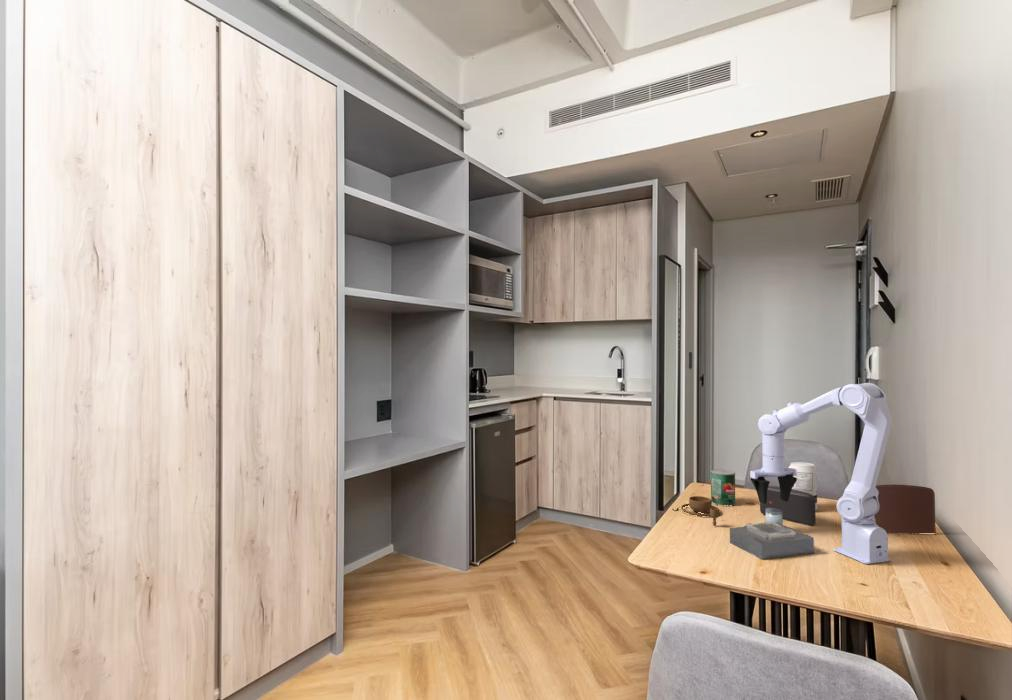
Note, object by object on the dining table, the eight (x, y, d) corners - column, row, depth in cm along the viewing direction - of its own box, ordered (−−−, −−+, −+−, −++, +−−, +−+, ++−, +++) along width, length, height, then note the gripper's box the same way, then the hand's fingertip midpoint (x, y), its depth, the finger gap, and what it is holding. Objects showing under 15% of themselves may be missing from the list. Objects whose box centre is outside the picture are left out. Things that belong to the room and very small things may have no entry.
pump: (786, 532, 148) (785, 511, 148) (773, 533, 147) (773, 512, 147) (774, 527, 153) (774, 507, 153) (762, 528, 152) (762, 508, 152)
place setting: (733, 513, 168) (732, 495, 168) (720, 530, 152) (720, 511, 152) (679, 505, 178) (678, 488, 178) (661, 520, 161) (661, 502, 161)
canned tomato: (733, 507, 173) (733, 475, 173) (709, 504, 177) (708, 472, 177) (737, 502, 179) (736, 470, 180) (713, 498, 183) (712, 468, 184)
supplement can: (783, 506, 173) (782, 462, 173) (802, 504, 176) (801, 460, 176) (803, 513, 166) (803, 467, 166) (823, 511, 168) (822, 465, 168)
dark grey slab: (820, 524, 155) (819, 493, 156) (814, 527, 153) (813, 495, 153) (765, 511, 168) (765, 483, 168) (759, 514, 165) (758, 485, 165)
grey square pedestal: (813, 553, 133) (813, 532, 133) (761, 559, 129) (761, 538, 129) (768, 532, 148) (767, 514, 148) (720, 537, 144) (720, 519, 144)
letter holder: (936, 535, 146) (935, 485, 146) (863, 533, 147) (862, 484, 147) (911, 523, 156) (911, 477, 156) (843, 522, 157) (842, 476, 157)
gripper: (783, 451, 156) (783, 496, 156) (742, 453, 152) (743, 499, 152) (801, 455, 149) (802, 502, 149) (759, 458, 145) (760, 506, 145)
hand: (773, 501), depth 150 cm, fingers open, 7 cm apart
